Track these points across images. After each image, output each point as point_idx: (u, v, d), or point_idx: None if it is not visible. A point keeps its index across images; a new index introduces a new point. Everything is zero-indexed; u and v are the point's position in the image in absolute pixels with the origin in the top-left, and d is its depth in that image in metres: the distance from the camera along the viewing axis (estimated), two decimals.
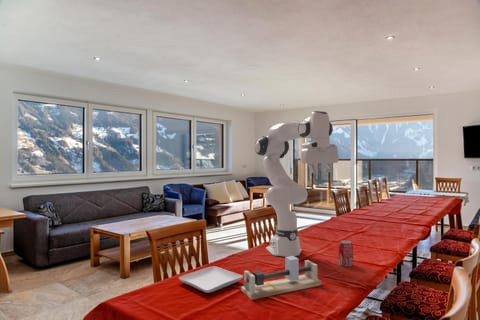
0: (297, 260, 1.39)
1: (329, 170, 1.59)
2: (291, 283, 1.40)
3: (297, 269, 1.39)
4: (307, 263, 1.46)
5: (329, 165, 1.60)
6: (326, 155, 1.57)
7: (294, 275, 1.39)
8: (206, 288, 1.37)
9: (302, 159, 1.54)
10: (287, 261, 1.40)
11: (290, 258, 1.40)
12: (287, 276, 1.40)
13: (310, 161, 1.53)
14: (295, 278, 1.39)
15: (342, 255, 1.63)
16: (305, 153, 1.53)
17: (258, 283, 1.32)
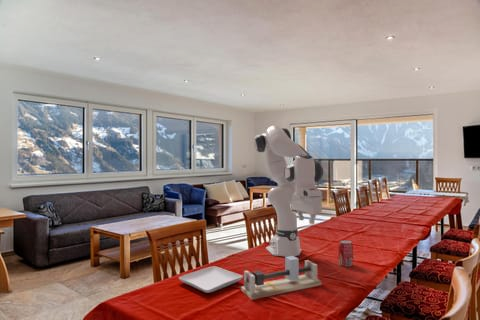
0: (297, 260, 1.39)
1: None
2: (291, 283, 1.40)
3: (297, 269, 1.39)
4: (307, 263, 1.46)
5: (299, 212, 1.50)
6: None
7: (294, 275, 1.39)
8: (206, 288, 1.37)
9: (316, 210, 1.35)
10: (287, 261, 1.40)
11: (290, 258, 1.40)
12: (287, 276, 1.40)
13: None
14: (295, 278, 1.39)
15: (342, 255, 1.63)
16: (319, 203, 1.36)
17: (258, 283, 1.32)
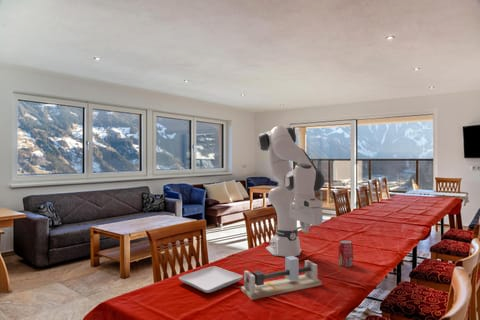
0: (297, 260, 1.39)
1: None
2: (291, 283, 1.40)
3: (297, 269, 1.39)
4: (307, 263, 1.46)
5: None
6: None
7: (294, 275, 1.39)
8: (206, 288, 1.37)
9: (317, 221, 1.34)
10: (287, 261, 1.40)
11: (290, 258, 1.40)
12: (287, 276, 1.40)
13: None
14: (295, 278, 1.39)
15: (342, 255, 1.63)
16: (321, 213, 1.35)
17: (258, 283, 1.32)
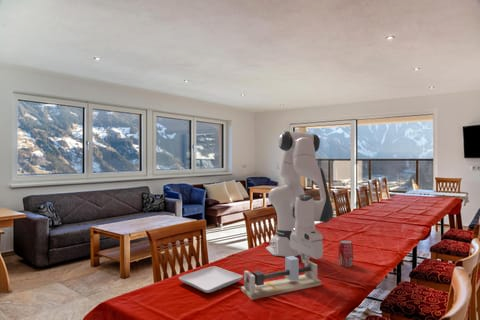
0: (297, 260, 1.39)
1: None
2: (291, 283, 1.40)
3: (297, 269, 1.39)
4: None
5: None
6: None
7: (294, 275, 1.39)
8: (206, 288, 1.37)
9: (318, 254, 1.34)
10: (287, 261, 1.40)
11: (290, 258, 1.40)
12: (287, 276, 1.40)
13: None
14: (295, 278, 1.39)
15: (342, 255, 1.63)
16: (321, 247, 1.35)
17: (258, 283, 1.32)
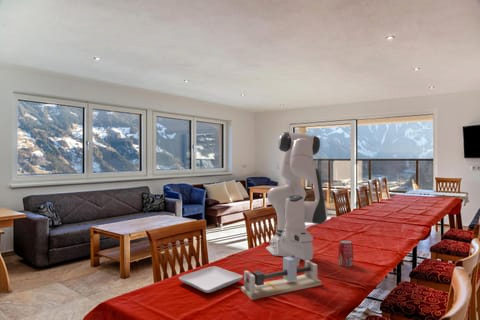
0: (295, 260, 1.39)
1: None
2: (291, 283, 1.40)
3: (295, 269, 1.39)
4: (307, 263, 1.46)
5: (293, 256, 1.43)
6: None
7: (292, 275, 1.38)
8: (206, 288, 1.37)
9: (308, 256, 1.32)
10: (285, 261, 1.40)
11: (288, 258, 1.40)
12: (285, 276, 1.40)
13: None
14: (293, 278, 1.39)
15: (342, 255, 1.63)
16: (311, 248, 1.33)
17: (258, 283, 1.32)
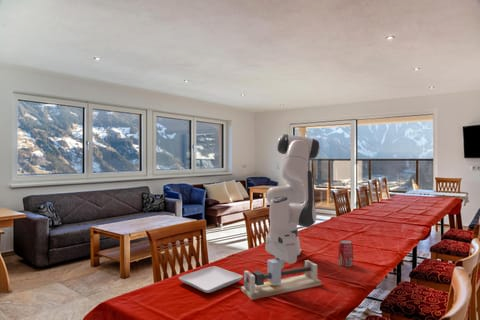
0: (279, 263, 1.36)
1: None
2: (291, 283, 1.40)
3: (279, 272, 1.36)
4: (307, 263, 1.46)
5: None
6: None
7: (276, 278, 1.35)
8: (206, 288, 1.37)
9: (291, 259, 1.29)
10: (269, 264, 1.37)
11: (272, 261, 1.37)
12: (269, 279, 1.37)
13: None
14: (277, 282, 1.35)
15: (342, 255, 1.63)
16: (295, 251, 1.30)
17: (258, 283, 1.32)
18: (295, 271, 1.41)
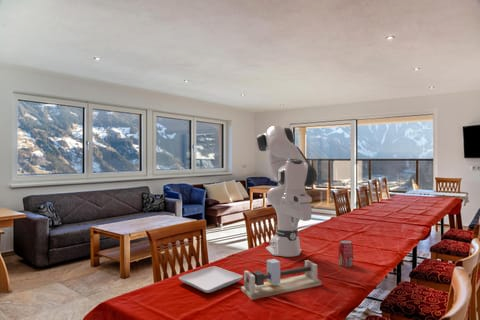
0: (278, 263, 1.36)
1: None
2: (291, 283, 1.40)
3: (278, 272, 1.36)
4: (307, 263, 1.46)
5: (292, 218, 1.46)
6: None
7: (275, 278, 1.35)
8: (206, 288, 1.37)
9: (306, 216, 1.35)
10: (268, 264, 1.36)
11: (272, 261, 1.36)
12: (268, 280, 1.37)
13: None
14: (276, 282, 1.35)
15: (342, 255, 1.63)
16: (310, 209, 1.36)
17: (258, 283, 1.32)
18: (295, 271, 1.41)
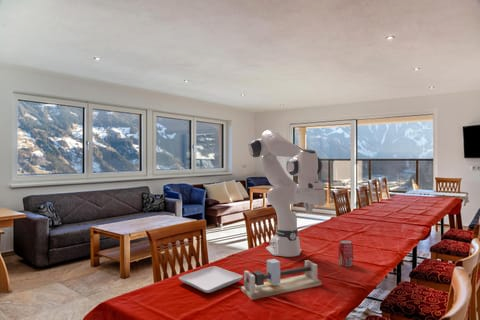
0: (278, 263, 1.36)
1: None
2: (291, 283, 1.40)
3: (278, 272, 1.36)
4: (307, 263, 1.46)
5: (306, 205, 1.55)
6: None
7: (275, 278, 1.35)
8: (206, 288, 1.37)
9: (321, 201, 1.44)
10: (268, 264, 1.36)
11: (272, 261, 1.36)
12: (268, 280, 1.37)
13: None
14: (276, 282, 1.35)
15: (342, 255, 1.63)
16: (324, 195, 1.45)
17: (258, 283, 1.32)
18: (295, 271, 1.41)
